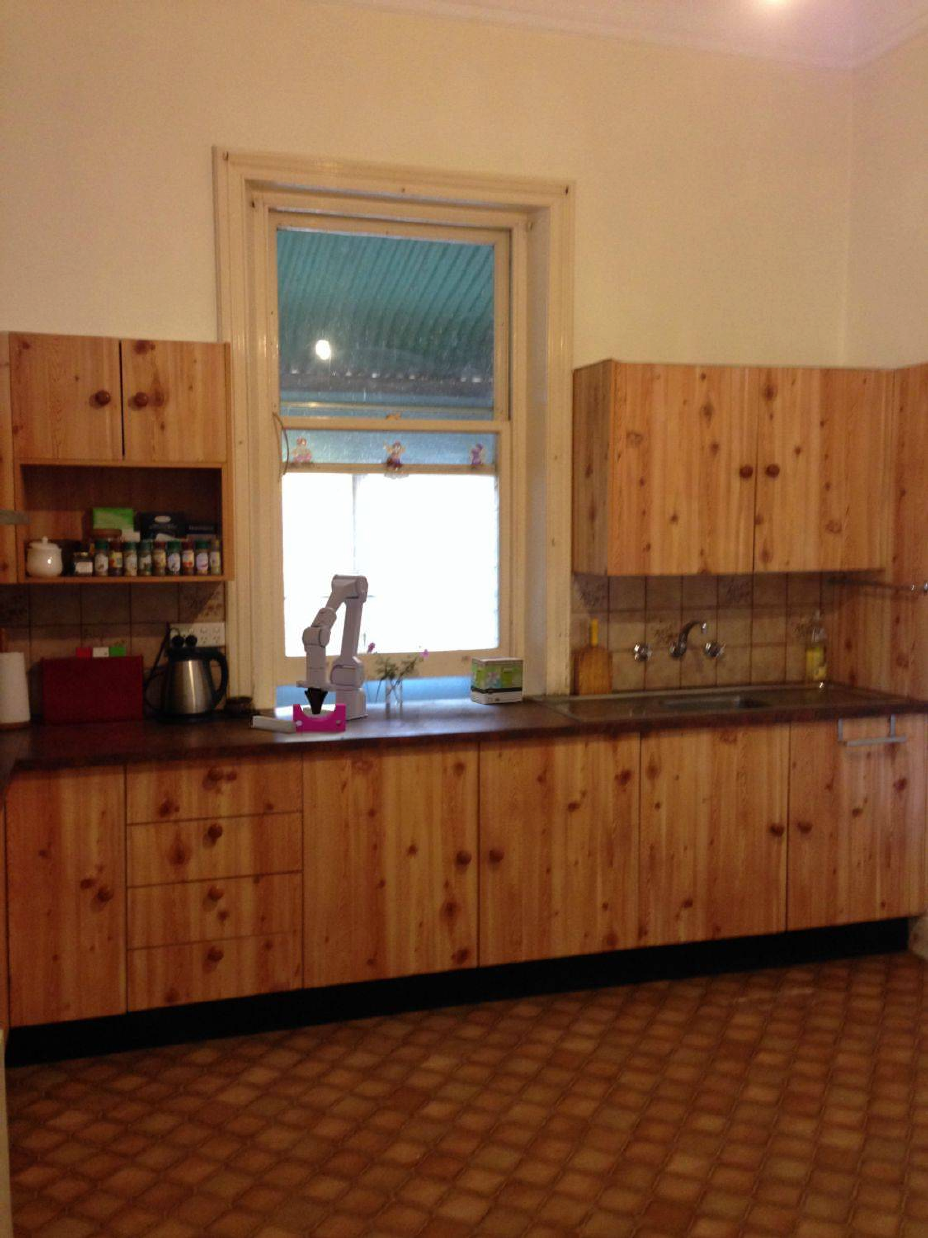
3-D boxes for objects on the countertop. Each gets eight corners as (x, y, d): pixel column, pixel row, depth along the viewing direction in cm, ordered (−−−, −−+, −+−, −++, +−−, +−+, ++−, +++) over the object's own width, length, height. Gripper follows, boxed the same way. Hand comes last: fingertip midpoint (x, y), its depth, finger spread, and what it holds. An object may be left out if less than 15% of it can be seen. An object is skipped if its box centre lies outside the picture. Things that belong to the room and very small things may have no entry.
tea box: (484, 705, 359) (485, 660, 358) (470, 700, 368) (470, 657, 367) (523, 701, 366) (523, 658, 365) (507, 697, 375) (508, 655, 374)
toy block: (345, 727, 318) (345, 701, 317) (345, 731, 312) (345, 705, 311) (293, 728, 316) (293, 702, 315) (292, 732, 310) (292, 706, 309)
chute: (309, 716, 335) (309, 706, 335) (347, 722, 325) (347, 712, 325) (250, 727, 317) (250, 717, 316) (288, 733, 307) (288, 723, 307)
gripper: (288, 667, 317) (289, 713, 318) (323, 671, 308) (324, 718, 309) (306, 664, 322) (306, 710, 323) (341, 668, 313) (341, 715, 314)
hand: (316, 714), depth 316 cm, fingers closed
